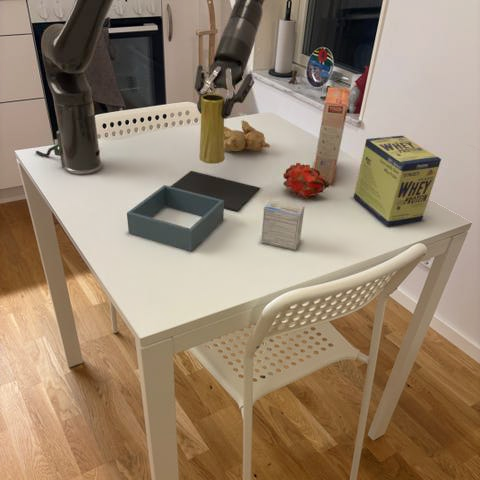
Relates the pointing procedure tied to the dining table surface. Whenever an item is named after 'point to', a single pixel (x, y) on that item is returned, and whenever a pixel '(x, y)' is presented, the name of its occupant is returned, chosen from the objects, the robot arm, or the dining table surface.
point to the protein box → (395, 179)
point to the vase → (212, 129)
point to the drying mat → (217, 189)
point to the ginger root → (244, 139)
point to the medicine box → (282, 224)
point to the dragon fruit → (304, 180)
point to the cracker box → (331, 132)
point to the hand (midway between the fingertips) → (212, 114)
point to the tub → (171, 233)
